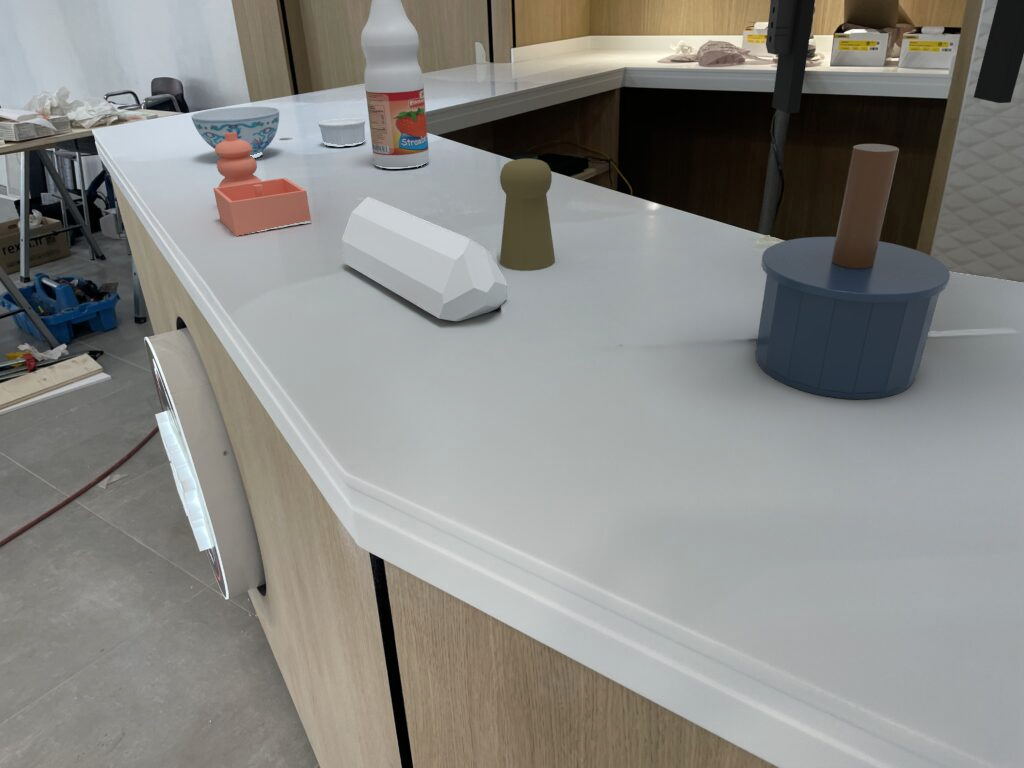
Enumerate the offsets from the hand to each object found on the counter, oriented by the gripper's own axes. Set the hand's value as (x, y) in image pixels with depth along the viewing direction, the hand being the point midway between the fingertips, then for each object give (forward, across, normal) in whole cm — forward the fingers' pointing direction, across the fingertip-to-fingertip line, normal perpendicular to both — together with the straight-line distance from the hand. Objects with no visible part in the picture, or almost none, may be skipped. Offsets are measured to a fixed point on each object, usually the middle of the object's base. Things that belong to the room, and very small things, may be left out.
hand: (888, 105), depth 47 cm
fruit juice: (+19, -40, +79) cm, 91 cm away
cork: (+19, -22, +25) cm, 38 cm away
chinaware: (+18, -70, +91) cm, 116 cm away
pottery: (+18, -58, +50) cm, 79 cm away
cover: (+11, 0, 0) cm, 11 cm away
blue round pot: (+19, 0, 0) cm, 19 cm away
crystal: (+19, -34, +20) cm, 43 cm away
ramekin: (+18, -54, +100) cm, 115 cm away
